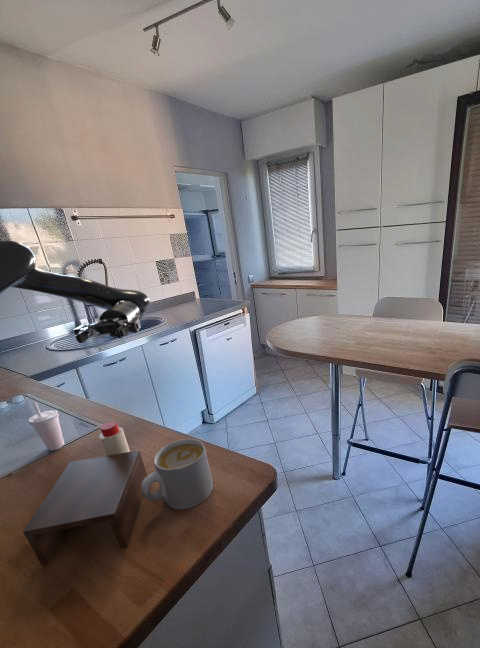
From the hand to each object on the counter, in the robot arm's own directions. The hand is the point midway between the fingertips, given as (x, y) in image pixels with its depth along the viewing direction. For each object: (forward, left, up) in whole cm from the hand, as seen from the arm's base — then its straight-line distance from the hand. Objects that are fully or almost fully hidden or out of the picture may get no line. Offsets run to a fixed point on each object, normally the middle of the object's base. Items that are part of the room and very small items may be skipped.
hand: (99, 336), depth 77 cm
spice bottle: (0, -10, -30) cm, 32 cm away
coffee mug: (+15, -23, -30) cm, 41 cm away
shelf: (0, -25, -30) cm, 39 cm away
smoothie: (-21, +5, -30) cm, 37 cm away
